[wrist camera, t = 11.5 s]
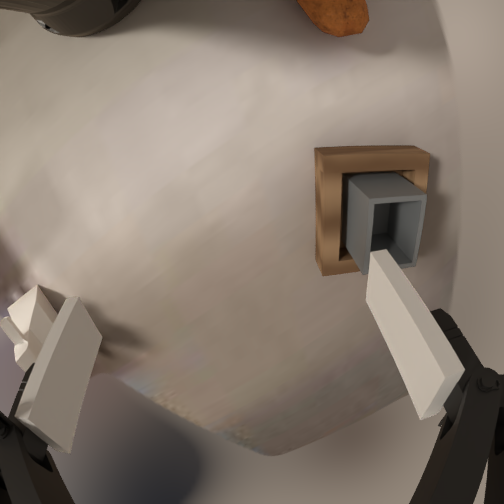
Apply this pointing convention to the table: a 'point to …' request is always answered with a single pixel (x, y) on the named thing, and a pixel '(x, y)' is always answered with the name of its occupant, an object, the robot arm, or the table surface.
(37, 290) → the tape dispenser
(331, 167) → the walnut crate
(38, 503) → the robot arm
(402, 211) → the grey open box
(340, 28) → the potato
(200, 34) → the table surface
